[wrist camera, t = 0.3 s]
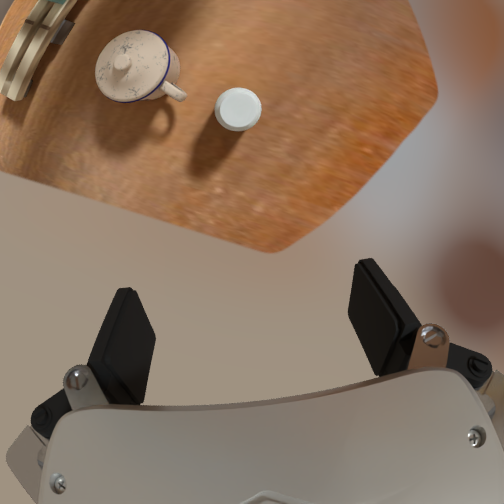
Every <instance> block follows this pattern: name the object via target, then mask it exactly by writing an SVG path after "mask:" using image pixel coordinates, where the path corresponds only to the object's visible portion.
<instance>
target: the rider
mask: <svg viewBox="0 0 504 504" xmlns="http://www.w3.org/2000/svg"><path fill="white" fill-rule="evenodd" d="M47 1H51V2H55V3H58V4H62V5H63V4H64V3H65V1H66V0H47Z"/></svg>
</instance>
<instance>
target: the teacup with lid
mask: <svg viewBox="0 0 504 504" xmlns="http://www.w3.org/2000/svg"><path fill="white" fill-rule="evenodd" d="M179 74H180V62H179V59H178V57H177V55H176V53H175V52H174V51H173V50H172V49H171V48H169V47H168V46H167V44H166V42H165V41H164V40H163V39H162V38H161V37H160V36H159V35H157V34H156V33H154V32H151V31H147V30H133V31H129V32H126V33H123V34H121V35H119V36H117V37H116V38H114V39H113V40H112V41H110V42H109V43H108V44H107V45H106V46H105V48H104V49H103V50H102V52H101V54H100V55H99V58H98V60H97V63H96V68H95V78H96V82H97V85H98V87H99V89H100V90H101V92H102V93H103V94H104V95H105V96H106V97H107V98H109V99H111V100H113V101H116V102H120V103H131V102H135V101H143V100H154V99H157V98H159V97H161V96H163V95H165V94H167V95H169V96H170V97H172V98H173V99H175V100H177V101H179V102H182V101H184V100H185V99H186V97H187V94H186V93H185V92H184V91H183V90H182V89H181V88H179V87H178V86H176V85H175V83H176V82H177V80H178V77H179Z"/></svg>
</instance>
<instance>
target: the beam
mask: <svg viewBox="0 0 504 504" xmlns="http://www.w3.org/2000/svg"><path fill="white" fill-rule="evenodd" d="M76 2H77V0H66V1H65V3H64V4H63V5H62V4H58V3H55V2H51V1H47V0H38V2H37V3H36V5H35V6H34V8H33V10H32V11H31V13H30V14H29V16H28V18H27V19H26V20H25V23H24V24H23V26H22V28H21V30H20V32H19V33H18V35H17V37H16V39H15V41H14V43H13V45H12V47H11V49H10V51H9V53H8V55H7V57H6V59H5V62H4V64H3V66H2V68H1V71H0V93H2V94H3V95H5V96H7V97H8V98H10V99H12V100H13V101H19V100H22V99H23V97H26V96H27V93H28V91H29V89H30V86H31V84H32V82H33V80H31V78H32V76H33V74H34V72H35V69H36V67H37V65H38V63H39V61H40V59H41V58H42V56H43V54H44V52H45V50H46V48H47V46H48V45H49V43H50V42H51V43H55V44H60V45H62V44H63V42H64V40H65V39H66V37H67V35H68V34H69V32H70V31H71V29H72V28H73V26H74V24H75V23H73V22H70V21H67V20H64V19H65V17H66V16H67V14H68V13H69V11H70V10H71V8H72V7H73V6H74V4H75V3H76ZM53 5H54V6H53ZM51 8H52V9H51ZM50 9H51V10H50ZM49 11H50V12H49ZM33 37H34V38H33ZM32 39H33V40H32ZM31 41H32V42H31ZM28 46H29V47H28ZM27 48H28V49H27ZM26 50H27V51H26ZM25 52H26V53H25ZM24 54H25V55H24ZM23 56H24V57H23ZM22 58H23V59H22ZM21 60H22V61H21ZM20 62H21V63H20ZM18 67H19V68H18ZM17 69H18V70H17ZM16 71H17V72H16Z"/></svg>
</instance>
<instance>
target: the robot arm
mask: <svg viewBox="0 0 504 504" xmlns="http://www.w3.org/2000/svg"><path fill="white" fill-rule="evenodd" d="M348 316H349V319H350V321H351V323H352V325H353V327H354V329H355V332H356V334H357V336H358V338H359V340H360V342H361V345H362V347H363V349H364V351H365V353H366V356H367V358H368V360H369V362H370V364H371V367H372V369H373V372H374V374H375V375H376V376H377V375H379V377H378V378H374V379H371V380H367V381H363V382H359V383H354V384H350V385H346V386H342V387H337V388H333V389H329V390H324V391H318V392H313V393H308V394H302V395H296V396H290V397H283V398H276V399H269V400H261V401H253V402H242V403H231V404H215V405H193V406H147V405H140V403H143V402H144V397H145V392H146V386H147V381H148V375H149V370H150V365H151V360H152V355H153V350H154V346H155V341H156V337H155V333H154V331H153V329H152V326H151V324H150V322H149V320H148V317H147V315H146V313H145V311H144V308H143V306H142V303H141V301H140V299H139V297H138V294H137V292H136V291H135V290H133V289H132V288H130V287H128V288H119V289H118V290H117V292H116V294H115V296H114V298H113V301H112V303H111V305H110V308H109V310H108V312H107V314H106V317H105V319H104V321H103V324H102V326H101V329H100V331H99V333H98V336H97V338H96V341H95V343H94V346H93V349H92V352H91V354H90V357H89V359H88V363H87V365H76V366H74V367H72V368H71V369H69V371H68V372H67V373H66V374H65V376H64V379H63V386H64V389H62V390H61V391H59V392H58V393H56V394H55V395H53V396H52V397H51V398H49V399H48V400H46V401H45V402H44V403H42V404H40V405H39V406H38V407H36V408H35V410H34V411H33V413H32V416H31V424H32V425H31V426H27V427H26V428H25V429H24V430H23V431H22V433H21V434H20V435H19V436H18V438H17V439H16V440H15V441H14V443H13V444H12V445H11V447H10V448H9V449H8V451H7V454H6V461H7V464H8V466H9V467H10V469H11V471H12V472H13V473H14V475H15V476H16V478H17V479H18V481H19V482H20V483H21V485H22V486H23V488H24V489H25V490H26V492H27V493H28V494H29V495H30V497H31V498H32V499H33V500H34V502H35V503H36V504H504V375H503V374H502V373H500V372H499V371H498V370H496V371H495V372H494V371H492V365H491V362H490V361H489V360H488V358H487V357H486V356H484V355H482V354H480V353H478V352H475V351H472V350H469V349H466V348H464V347H461V346H458V345H455V344H453V343H450V339H449V335H448V333H447V331H446V330H445V329H444V328H443V327H441V326H439V325H437V324H432V323H429V324H425V325H421V323H420V322H419V320H418V319H417V317H416V316H415V314H414V313H413V312H412V310H411V309H410V307H409V306H408V304H407V303H406V301H405V300H404V299H403V297H402V296H401V294H400V293H399V292H398V290H397V289H396V288H395V287H394V286H393V285H392V283H391V282H390V280H388V278H387V276H386V275H385V274H384V272H383V271H382V270H381V268H380V267H379V266H378V265H377V264H376V262H375V261H374V259H372V258H368V259H362V260H359V262H358V264H355V268H354V275H353V282H352V288H351V295H350V301H349V307H348Z"/></svg>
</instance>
